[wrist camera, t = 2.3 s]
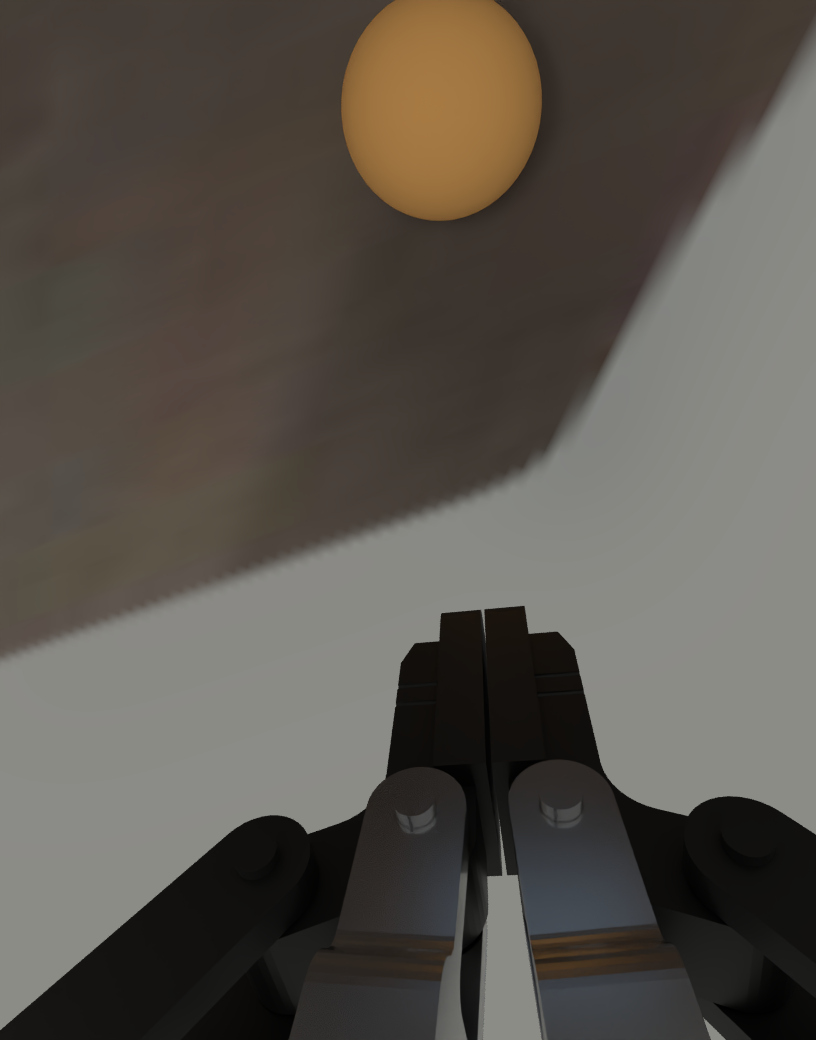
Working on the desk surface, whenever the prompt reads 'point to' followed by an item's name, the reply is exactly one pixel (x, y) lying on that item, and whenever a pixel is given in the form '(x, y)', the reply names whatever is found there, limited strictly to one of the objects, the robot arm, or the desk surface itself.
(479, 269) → the desk surface
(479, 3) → the ball
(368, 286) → the desk surface
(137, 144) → the desk surface
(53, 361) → the desk surface
